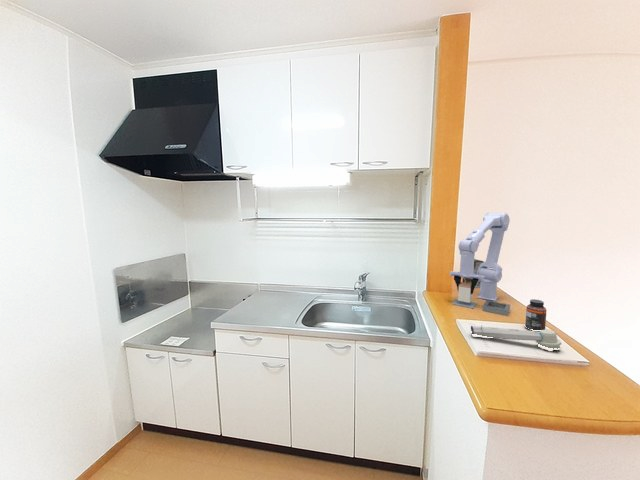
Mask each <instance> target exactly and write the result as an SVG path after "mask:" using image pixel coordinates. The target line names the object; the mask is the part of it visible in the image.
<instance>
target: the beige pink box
mask: <svg viewBox="0 0 640 480" xmlns="http://www.w3.org/2000/svg"><path fill="white" fill-rule="evenodd" d="M457 292H458V294H457V299H458V301H463V302H468V303H470V302H472V300H473V294H471V284H469V283H463V282H462V281H461V283H460V284H459V291H458V290H457Z"/></svg>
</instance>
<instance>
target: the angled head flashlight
mask: <svg viewBox="0 0 640 480" xmlns="http://www.w3.org/2000/svg"><path fill="white" fill-rule="evenodd" d="M471 331H472V333H471V335H472V334H477V335H482V336H487V337H493V338H502V339H501V340H512V341H515V340H517V341H534V342H536V343H538V344H540V345H542V346H545V347H548V348H553V349H554V348H557V349H558V348H560V349H561V347H560V346H561V345H562V341H561V340H559V339H558V336H557V333H556V332H555V331H553V330H550V329H545V330H541V331H531V330H528V329H518V328H517V329H516V328H505V327H504V328H503V327H493V326H483V325H482V324H481V325H477V326H476V325H470V332H471ZM538 344H537V345H538Z"/></svg>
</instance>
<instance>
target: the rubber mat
mask: <svg viewBox="0 0 640 480" xmlns="http://www.w3.org/2000/svg"><path fill="white" fill-rule="evenodd" d="M451 304H452V305H453V306H458V307H463V308H468V309H474V308H475V307H476V306H477V304H478V302H475V301H471V302H470V303H468V302H463V301H458V298H456V299H455V300H454V301H453V302H452V303H451Z"/></svg>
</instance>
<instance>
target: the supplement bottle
mask: <svg viewBox="0 0 640 480" xmlns="http://www.w3.org/2000/svg"><path fill="white" fill-rule="evenodd" d="M544 304H545V302H544V301H543V300H540V299H535V298H534V299H533V298H532V299H530V300H529V304H528V305H526V309H525V310H526V312H525V323H524V324H525V326H526V327H527V328H529V329H533V330H546V324H547V323H546V322H547V308H546V307H544ZM525 326H524V327H525ZM526 327H525V328H526ZM527 328H526V329H527Z"/></svg>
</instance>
